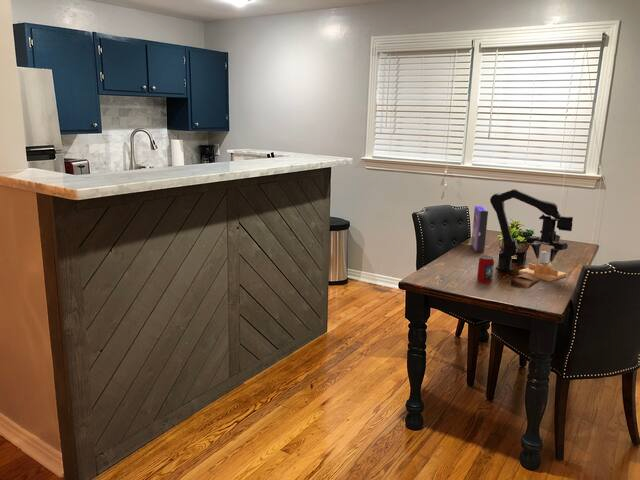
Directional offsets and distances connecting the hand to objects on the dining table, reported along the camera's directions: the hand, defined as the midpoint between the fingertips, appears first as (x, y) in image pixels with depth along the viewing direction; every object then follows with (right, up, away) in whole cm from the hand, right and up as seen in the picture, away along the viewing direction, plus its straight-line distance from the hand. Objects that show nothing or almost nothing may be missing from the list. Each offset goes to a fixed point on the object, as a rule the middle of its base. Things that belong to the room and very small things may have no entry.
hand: (544, 259), depth 253 cm
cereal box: (-17, +5, +53) cm, 56 cm away
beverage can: (-34, -10, -13) cm, 38 cm away
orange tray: (0, -7, +2) cm, 8 cm away
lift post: (0, -6, +1) cm, 6 cm away
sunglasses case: (-14, -11, -12) cm, 22 cm away
